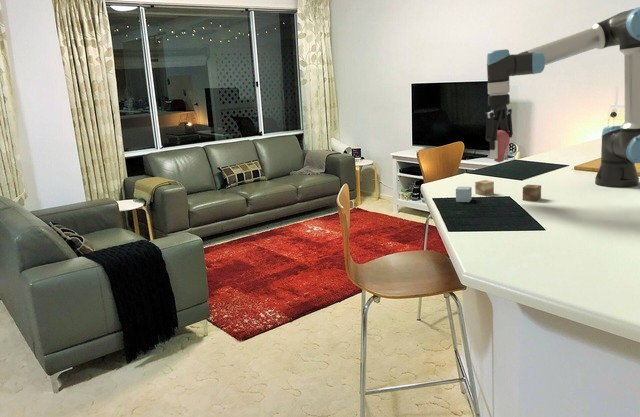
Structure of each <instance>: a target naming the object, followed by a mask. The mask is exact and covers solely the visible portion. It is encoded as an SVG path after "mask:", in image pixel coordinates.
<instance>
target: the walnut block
mask: <svg viewBox="0 0 640 417" xmlns="http://www.w3.org/2000/svg"><path fill="white" fill-rule="evenodd" d="M541 199H542V185H540V184H525V185H524V186H522V201H529V202H530V201H532V202H538V201H539V200H541Z"/></svg>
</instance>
